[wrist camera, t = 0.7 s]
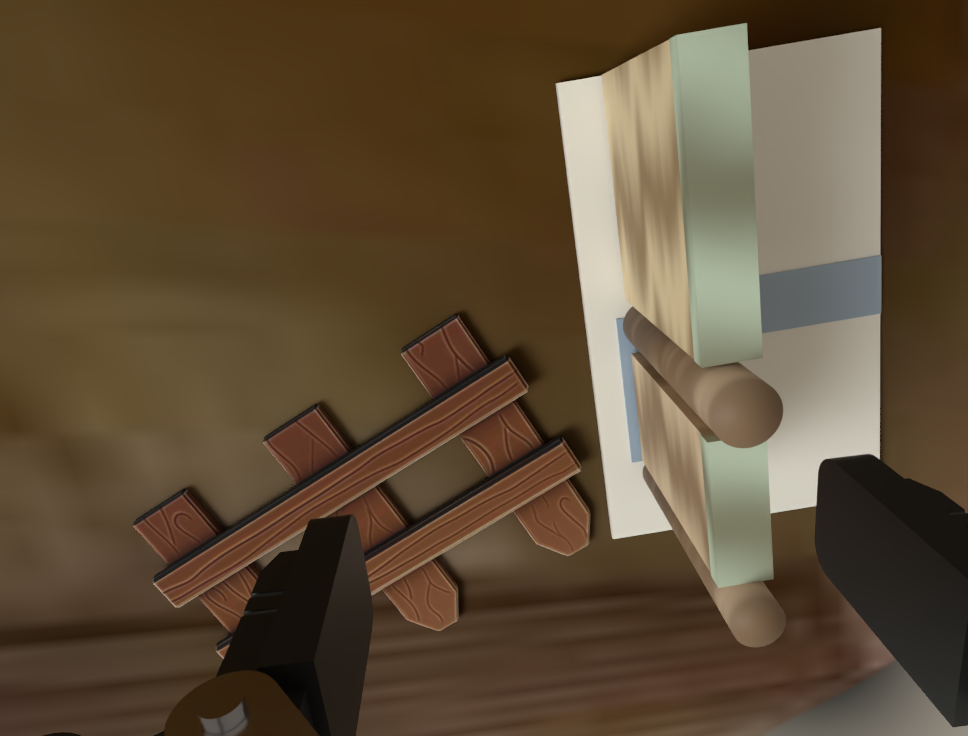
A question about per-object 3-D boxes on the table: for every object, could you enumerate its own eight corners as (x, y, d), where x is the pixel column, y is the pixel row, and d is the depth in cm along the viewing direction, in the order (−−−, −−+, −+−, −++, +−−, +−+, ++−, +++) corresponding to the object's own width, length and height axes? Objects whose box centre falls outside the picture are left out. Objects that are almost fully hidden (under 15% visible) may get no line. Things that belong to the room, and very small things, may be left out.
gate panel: (666, 292, 35) (762, 357, 24) (624, 299, 35) (701, 367, 24) (646, 67, 32) (747, 23, 21) (600, 75, 32) (677, 34, 21)
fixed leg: (620, 305, 36) (709, 387, 23) (667, 297, 36) (781, 375, 23) (640, 491, 39) (728, 652, 26) (684, 484, 39) (792, 641, 26)
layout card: (555, 84, 33) (557, 83, 33) (876, 29, 33) (882, 27, 32) (611, 535, 40) (613, 540, 40) (875, 492, 40) (880, 496, 39)
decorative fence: (125, 524, 39) (291, 706, 43) (110, 540, 38) (284, 728, 42) (473, 299, 36) (617, 516, 40) (474, 306, 35) (624, 532, 39)
